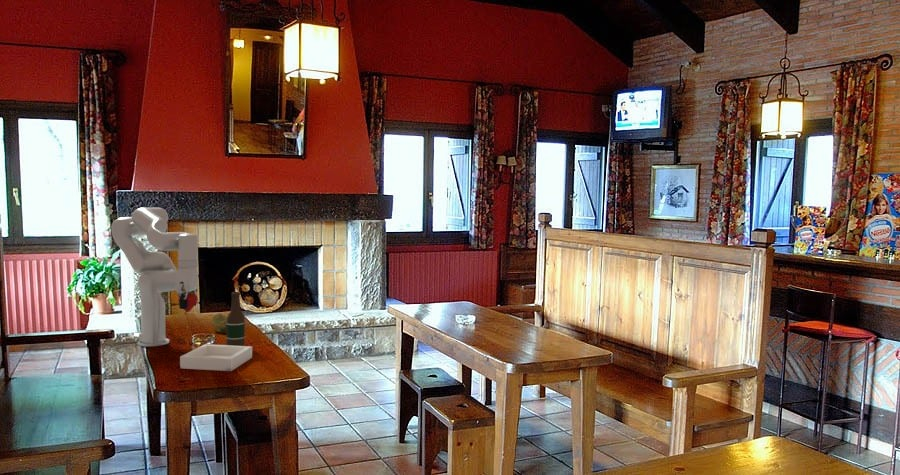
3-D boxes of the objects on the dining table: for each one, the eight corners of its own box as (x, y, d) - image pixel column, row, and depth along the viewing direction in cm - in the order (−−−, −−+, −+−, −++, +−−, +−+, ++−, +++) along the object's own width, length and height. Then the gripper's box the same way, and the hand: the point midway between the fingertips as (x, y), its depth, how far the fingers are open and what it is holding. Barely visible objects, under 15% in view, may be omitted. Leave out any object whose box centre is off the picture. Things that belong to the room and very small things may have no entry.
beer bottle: (239, 350, 275) (239, 294, 273) (222, 349, 276) (222, 293, 275) (248, 346, 283) (248, 291, 281) (232, 344, 284) (232, 290, 282)
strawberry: (199, 312, 267) (199, 288, 267) (179, 314, 263) (179, 289, 262) (195, 310, 272) (196, 286, 272) (176, 311, 268) (176, 287, 267)
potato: (214, 335, 301) (214, 318, 301) (211, 329, 313) (211, 312, 312) (232, 333, 305) (232, 316, 304) (229, 328, 317) (229, 311, 316)
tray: (180, 368, 246) (180, 356, 246) (204, 355, 266) (204, 344, 266) (231, 371, 245) (231, 359, 244) (252, 357, 264) (252, 346, 264)
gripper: (189, 261, 275) (189, 302, 277) (168, 266, 258) (168, 310, 259) (206, 262, 274) (206, 303, 276) (186, 267, 257) (186, 311, 259)
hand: (187, 306), depth 268 cm, fingers closed on strawberry, 6 cm apart
